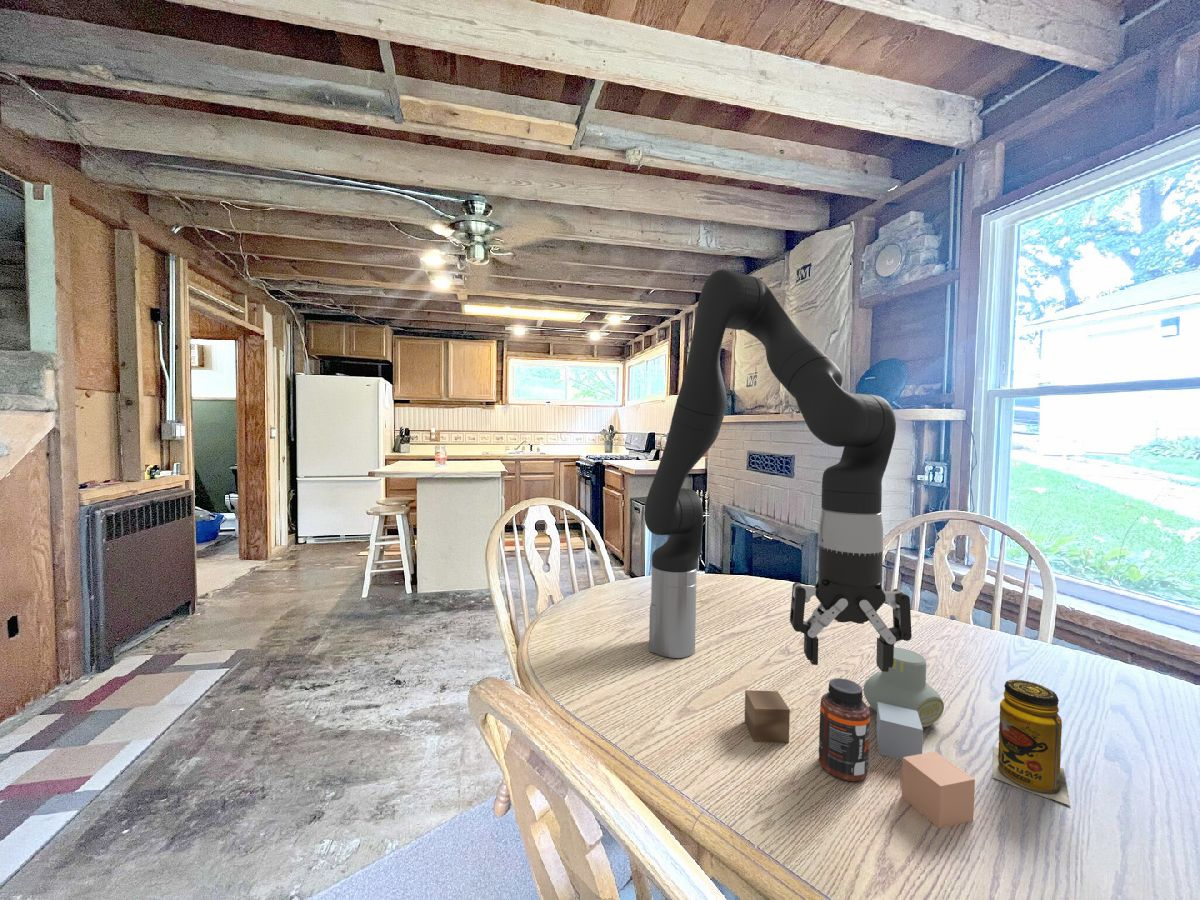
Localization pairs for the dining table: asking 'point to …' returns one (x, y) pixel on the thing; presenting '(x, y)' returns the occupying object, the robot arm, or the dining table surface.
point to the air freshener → (905, 687)
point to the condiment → (1030, 741)
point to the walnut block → (767, 716)
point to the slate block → (898, 731)
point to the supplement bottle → (844, 731)
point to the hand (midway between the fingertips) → (847, 665)
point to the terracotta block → (938, 789)
